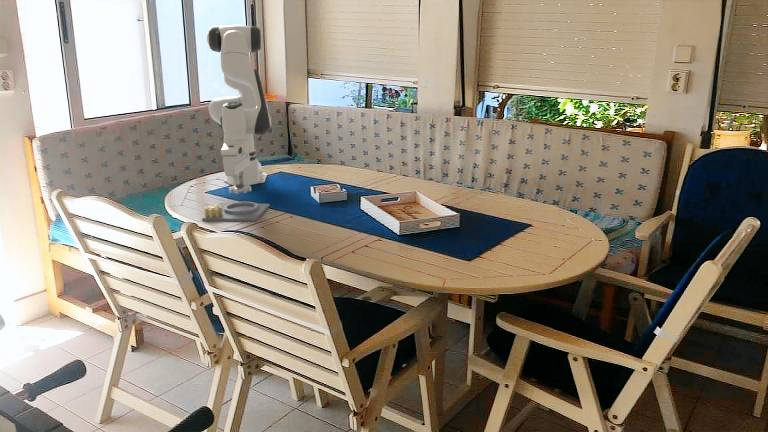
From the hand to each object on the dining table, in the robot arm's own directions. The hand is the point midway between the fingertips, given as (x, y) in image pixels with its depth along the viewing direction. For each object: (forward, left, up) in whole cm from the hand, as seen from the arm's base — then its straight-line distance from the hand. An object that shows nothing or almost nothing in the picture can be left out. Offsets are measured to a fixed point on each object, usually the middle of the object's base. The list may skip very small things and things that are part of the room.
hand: (239, 182), depth 240 cm
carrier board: (+2, -1, -12) cm, 12 cm away
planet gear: (0, 0, -3) cm, 3 cm away
